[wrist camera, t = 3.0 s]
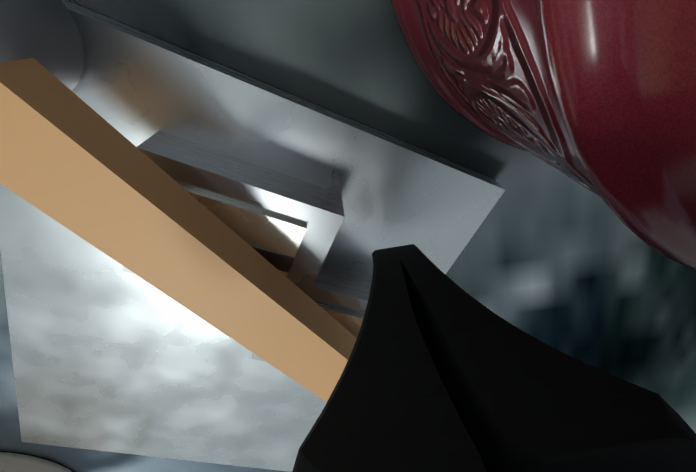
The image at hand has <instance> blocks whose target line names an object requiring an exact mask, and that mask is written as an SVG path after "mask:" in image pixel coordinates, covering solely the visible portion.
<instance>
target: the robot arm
mask: <svg viewBox="0 0 696 472" xmlns="http://www.w3.org/2000/svg"><path fill="white" fill-rule="evenodd" d="M372 259H373V275H372V283H371V288H370V294H369V299H368V303H367V307H366V311H365V314H364V318H363V321H362V325H361V328H360V331H359V334H358V336H357V339H356V342H355V344H354V347H353V349H352V352H351V354H350V357H349V359H348V361H347V364H346V366H345V368H344V370H343V372H342V374H341V377H340V379H339V380H338V382H337V384H336V386H335V388H334V390H333V392H332V394H331V396H330V398H329V399H328V401H327V403H326V405H325V407H324V409H323V410H322V412H321V414H320V415H319V417H318V419H317V420H316V422H315V423H314V425H313V427H312V428H311V430H310V432H309V433H308V435H307V436H306V438H305V440H304V441H303V443H302V444H301V446H300V448H299V450H298V454H297V457H296V460H295V464H294V467H293V471H292V472H696V434H695V432H694V431H693V430H692V429H691V428H690V427H689V426H688V424H687V423H686V422H685V421H684V420H683V419H682V418H681V416H680V415H679V414H678V413H677V412H676V411H675V410H674V409H673V408H672V407H671V406H670V405H669V404H668V403H667V402H666V401H665V400H664V399H663V398H662V397H661V396H660V395H659V394H656V393H654V392H652V391H649V390H647V389H644V388H642V387H639V386H637V385H635V384H632V383H630V382H627V381H625V380H622V379H620V378H617V377H615V376H613V375H610V374H608V373H605V372H603V371H601V370H598V369H596V368H594V367H592V366H590V365H588V364H585V363H583V362H581V361H579V360H577V359H575V358H573V357H571V356H568V355H566V354H564V353H562V352H560V351H558V350H557V349H555V348H553V347H551V346H549V345H547V344H545V343H543V342H542V341H540V340H538V339H536V338H534V337H532V336H531V335H529V334H527V333H525V332H523V331H522V330H520V329H518V328H517V327H515V326H513V325H512V324H510V323H508V322H507V321H505V320H504V319H502V318H501V317H499V316H498V315H496V314H495V313H493V312H492V311H490V310H489V309H488V308H486V307H485V306H483V305H482V304H481V303H479V302H478V301H477V300H475V299H474V298H473V297H472V296H470V295H469V294H468V293H466V292H465V291H464V290H463V289H462V288H460V287H459V286H458V285H457V284H456V283H454V282H453V281H452V280H451V279H450V278H449V277H448V276H446V275H445V274H444V273H443V272H442V271H441V270H440V269H439V268H438V267H437V266H436V265H435V264H434V263H432V262H431V261H430V260H429V259H428V258H427V257H426V256H425V255H424V253H423V252H422V251H421V250H420V249H419V248H418V247H417V246H415V245H414V244H410V245H404V246H398V247H391V248H385V249H379V250H375V251H374V252H373V253H372Z"/></svg>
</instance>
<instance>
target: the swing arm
mask: <svg viewBox="0 0 696 472" xmlns="http://www.w3.org/2000/svg"><path fill="white" fill-rule="evenodd" d="M84 61H85V58H84V48H83V42H82V39H81V36H80V33H79V30H78V28H77V25H76V23H75V21H74V19H73V17H72V16H71V14H70V12H69V11H68V9H67V8H66V6H65V5H64V3H63V2H62V1H61V0H0V184H2V185H3V186H5V187H6V188H8V189H9V190H11V191H12V192H14V193H15V194H17V195H18V196H20V197H21V198H23V199H24V200H26V201H27V202H29V203H30V204H32V205H33V206H35V207H36V208H38V209H39V210H41V211H42V212H43V213H45V214H46V215H48V216H49V217H51V218H52V219H54V220H55V221H57V222H58V223H60V224H61V225H63V226H64V227H66V228H67V229H69V230H70V231H72V232H73V233H75V234H76V235H78V236H79V237H81V238H82V239H84V240H85V241H87V242H88V243H90V244H91V245H93V246H94V247H96V248H97V249H99V250H100V251H102V252H103V253H105V254H106V255H108V256H109V257H111V258H112V259H114V260H115V261H117V262H118V263H120V264H121V265H123V266H124V267H126V268H127V269H129V270H130V271H132V272H133V273H135V274H136V275H138V276H139V277H141V278H142V279H143V280H145V281H146V282H148V283H149V284H151V285H152V286H154V287H155V288H157V289H158V290H160V291H161V292H163V293H164V294H166V295H167V296H169V297H170V298H172V299H173V300H175V301H176V302H178V303H179V304H181V305H182V306H184V307H185V308H187V309H188V310H190V311H191V312H193V313H194V314H196V315H197V316H199V317H200V318H202V319H203V320H205V321H206V322H208V323H209V324H211V325H212V326H214V327H215V328H217V329H218V330H220V331H221V332H223V333H224V334H226V335H227V336H229V337H230V338H232V339H233V340H235V341H236V342H238V343H239V344H241V345H242V346H243V347H245V348H246V349H248V350H249V351H251V352H252V353H254V354H255V355H257V356H258V357H260V358H261V359H263V360H264V361H266V362H267V363H269V364H270V365H272V366H273V367H275V368H276V369H278V370H279V371H281V372H282V373H284V374H285V375H287V376H288V377H290V378H291V379H293V380H294V381H296V382H297V383H299V384H300V385H302V386H303V387H305V388H306V389H308V390H309V391H311V392H312V393H314V394H315V395H317V396H318V397H320V398H321V399H323V400H324V401H326V402H327V401H328V399H329V398H330V396H331V394H332V392H333V390H334V388H335V386H336V384H337V382H338V380H339V379H340V377H341V374H342V372H343V370H344V368H345V366H346V364H347V361H348V359H349V357H350V354H351V352H352V349H353V347H354V344H355V342H356V339H357V338H356V337H355V336H354V335H353V334H352V333H350V332H349V331H348V330H347V329H346V328H345V327H343V326H342V325H341V324H340V323H339V322H338V321H337V320H335V319H334V318H333V317H332V316H331V315H330V314H328V313H327V312H326V311H325V310H324V309H323V308H322V307H320V306H319V305H318V304H317V303H316V302H315V301H313V300H312V299H311V298H310V297H309V296H308V295H307V294H305V293H304V292H303V291H302V290H301V289H300V288H298V287H297V286H296V285H295V284H294V283H293V282H292V281H290V280H289V279H288V278H287V277H286V276H285V275H283V274H282V273H281V272H280V271H279V270H278V269H277V268H275V267H274V266H273V265H272V264H271V263H270V262H268V261H267V260H266V259H265V258H264V257H263V256H262V255H260V254H259V253H258V252H257V251H256V250H255V249H253V248H252V247H251V246H250V245H249V244H248V243H247V242H245V241H244V240H243V239H242V238H241V237H240V236H238V235H237V234H236V233H235V232H234V231H233V230H232V229H230V228H229V227H228V226H227V225H226V224H225V223H223V222H222V221H221V220H220V219H219V218H218V217H217V216H215V215H214V214H213V213H212V212H211V211H210V210H208V209H207V208H206V207H205V206H204V205H203V204H202V203H200V202H199V201H198V200H197V199H196V198H195V197H193V196H192V195H191V194H190V193H189V192H188V191H187V190H185V189H184V188H183V187H182V186H181V185H180V184H178V183H177V182H176V181H175V180H174V179H173V178H172V177H170V176H169V175H168V174H167V173H166V172H165V171H163V170H162V169H161V168H160V167H159V166H158V165H157V164H155V163H154V162H153V161H152V160H151V159H150V158H148V157H147V156H146V155H145V154H144V153H143V152H142V151H140V150H139V149H138V148H137V147H136V146H135V145H133V144H132V143H131V142H130V141H129V140H128V139H127V138H125V137H124V136H123V135H122V134H121V133H120V132H118V131H117V130H116V129H115V128H114V127H113V126H112V125H110V124H109V123H108V122H107V121H106V120H105V119H103V118H102V117H101V116H100V115H99V114H98V113H97V112H95V111H94V110H93V109H92V108H91V107H90V106H88V105H87V104H86V103H85V102H84V101H83V100H82V99H80V98H79V97H78V96H77V95H76V94H75V93H73V92H72V91H71V90H73V89H74V88H75V86H76V85H77V84H78V82H79V80H80V78H81V76H82V73H83V69H84Z"/></svg>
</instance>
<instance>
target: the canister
mask: <svg viewBox="0 0 696 472" xmlns="http://www.w3.org/2000/svg"><path fill="white" fill-rule="evenodd" d="M391 2H392V5H393V8H394V12H395V15H396V18H397V20H398V23H399V26H400V28H401V31H402V33H403V36H404V38H405V40H406V42H407V44H408V47H409V49H410V51H411V53H412V55H413V57H414V58H415V60H416V62H417V63H418V65H419V67H420V69H421V70H422V72H423V73H424V75H425V76H426V78H427V79H428V80H429V82H430V83H431V85H432V86H433V87H434V88H435V90H436V91H437V92H438V93H439V94H440V96H441V97H442V98H443V99H444V100H445V101H446V102H447V103H448V104H449V105H450V106H451V107H452V108H453V109H454V110H455V111H457V112H458V113H459V114H460V115H462V116H463V117H464V118H465V119H467V120H468V121H470V122H471V123H473V124H474V125H475V126H476V127H478V128H479V129H481V130H482V131H484V132H485V133H487V134H488V135H490V136H492V137H494V138H496V139H497V140H499V141H501V142H503V143H506V144H508V145H511V146H513V147H516V148H518V149H522V150H525V151H528V152H530V153H532V154H533V155H535V156H537V157H538V158H540V159H541V160H543V161H544V162H546V163H548V164H549V165H551V166H552V167H554V168H556V169H557V170H559V171H560V172H562V173H563V174H565V175H567V176H568V177H570V178H571V179H573V180H574V181H576V182H578V183H579V184H581V185H582V186H584V187H586V188H587V189H589V190H590V191H592V192H593V193H595V194H597V195H598V196H600V197H601V198H602V199H603V200H604V202H605V203H606V204H607V205H608V207H609V208H610V209H611V210H612V211H613V212H614V213H615V214H616V216H617V217H618V218H619V219H620V220H621V221H622V222H623V223H624V224H625V225H626V226H627V227H628V228H629V229H630V230H631V231H633V232H634V233H635V234H636V235H637V236H638V237H639V238H641V239H642V240H643V241H644V242H645V243H646V244H648V245H649V246H651V247H652V248H654V249H655V250H657V251H658V252H660V253H661V254H663V255H664V256H666V257H668V258H670V259H672V260H674V261H676V262H678V263H680V264H682V265H684V266H686V267H688V268H690V269H692V270H694V271H696V0H391Z"/></svg>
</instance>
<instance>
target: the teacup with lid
mask: <svg viewBox="0 0 696 472" xmlns="http://www.w3.org/2000/svg"><path fill="white" fill-rule="evenodd" d="M0 472H72V471H71V470H69V469H67V468H65V467H63V466H61V465H59V464H57V463H54V462H51V461H48V460H45V459H42V458H38V457H34V456H29V455H24V454H17V453H9V452H0Z"/></svg>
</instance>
